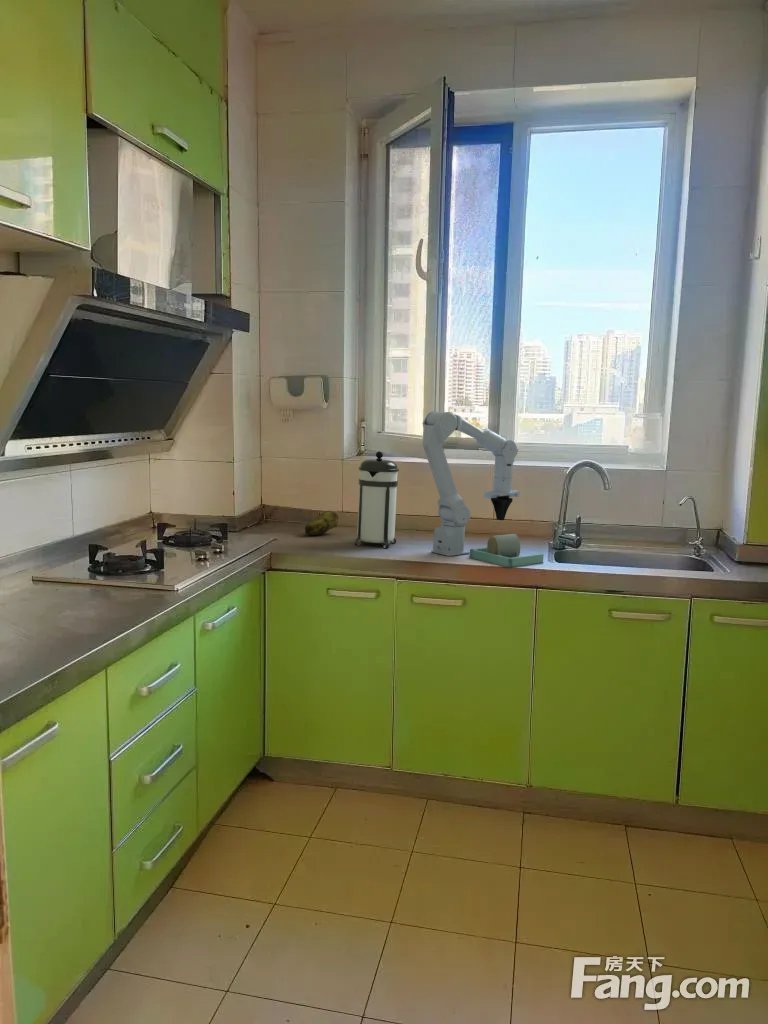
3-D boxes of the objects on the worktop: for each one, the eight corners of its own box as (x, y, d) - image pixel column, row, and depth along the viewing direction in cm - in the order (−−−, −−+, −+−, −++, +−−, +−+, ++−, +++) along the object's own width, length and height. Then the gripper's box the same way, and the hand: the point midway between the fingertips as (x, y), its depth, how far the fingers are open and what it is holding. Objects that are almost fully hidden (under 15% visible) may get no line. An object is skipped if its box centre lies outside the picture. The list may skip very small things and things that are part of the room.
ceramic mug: (484, 556, 235) (486, 531, 233) (509, 556, 237) (511, 531, 236) (499, 564, 225) (501, 538, 223) (524, 564, 227) (526, 538, 226)
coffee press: (409, 547, 245) (414, 453, 241) (364, 549, 238) (368, 452, 234) (385, 538, 260) (389, 449, 256) (342, 540, 253) (345, 448, 249)
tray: (509, 567, 221) (510, 558, 221) (469, 557, 233) (469, 549, 233) (542, 562, 231) (543, 554, 230) (502, 553, 243) (503, 545, 242)
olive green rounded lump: (298, 533, 263) (299, 510, 262) (333, 532, 269) (333, 509, 268) (307, 537, 255) (308, 513, 254) (343, 536, 261) (343, 512, 260)
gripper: (497, 479, 237) (494, 523, 238) (527, 478, 246) (524, 520, 248) (480, 477, 242) (477, 519, 244) (510, 476, 251) (508, 517, 253)
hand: (500, 519), depth 246 cm, fingers closed
